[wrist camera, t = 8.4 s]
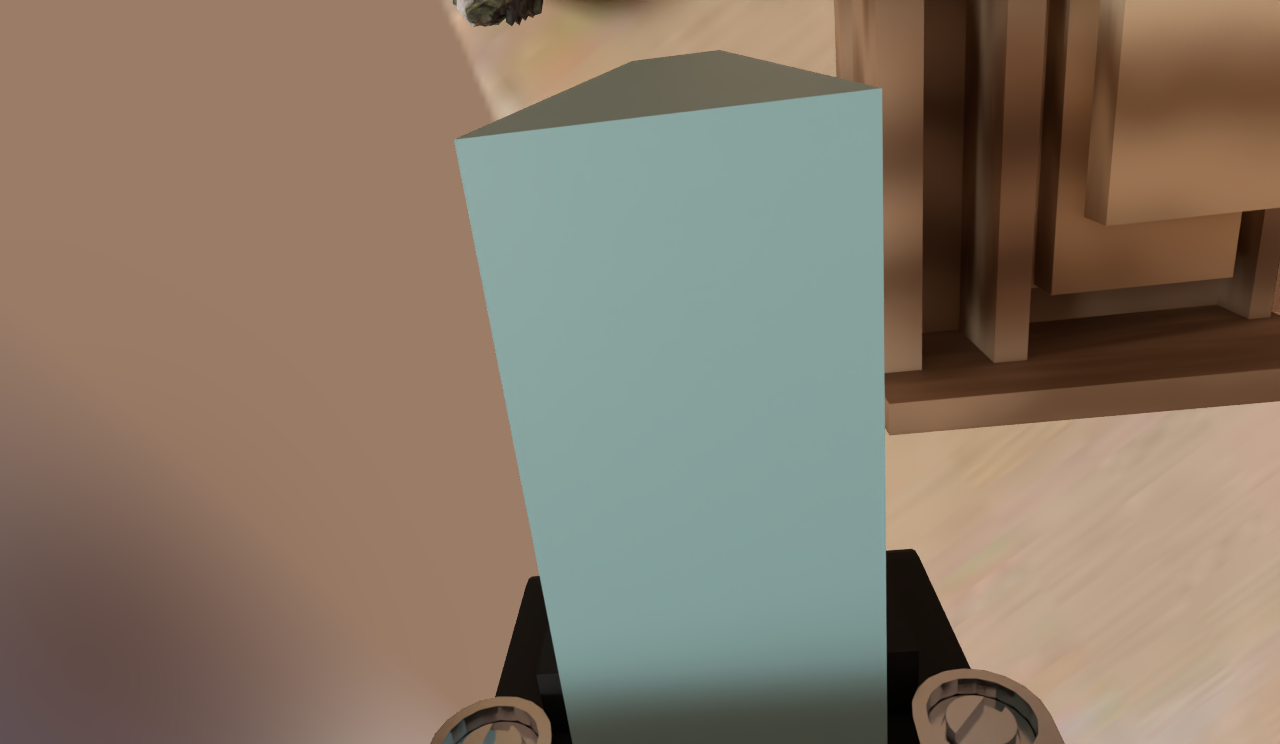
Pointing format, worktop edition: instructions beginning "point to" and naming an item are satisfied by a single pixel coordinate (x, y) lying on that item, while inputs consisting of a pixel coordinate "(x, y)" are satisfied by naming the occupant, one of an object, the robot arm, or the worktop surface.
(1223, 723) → the worktop surface
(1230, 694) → the worktop surface
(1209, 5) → the offcut stack
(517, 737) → the robot arm
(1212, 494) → the worktop surface
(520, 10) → the mineral specimen
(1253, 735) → the worktop surface
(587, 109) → the teal sheet
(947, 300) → the walnut rack
